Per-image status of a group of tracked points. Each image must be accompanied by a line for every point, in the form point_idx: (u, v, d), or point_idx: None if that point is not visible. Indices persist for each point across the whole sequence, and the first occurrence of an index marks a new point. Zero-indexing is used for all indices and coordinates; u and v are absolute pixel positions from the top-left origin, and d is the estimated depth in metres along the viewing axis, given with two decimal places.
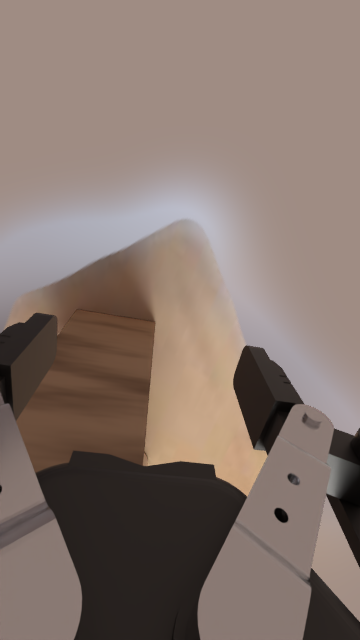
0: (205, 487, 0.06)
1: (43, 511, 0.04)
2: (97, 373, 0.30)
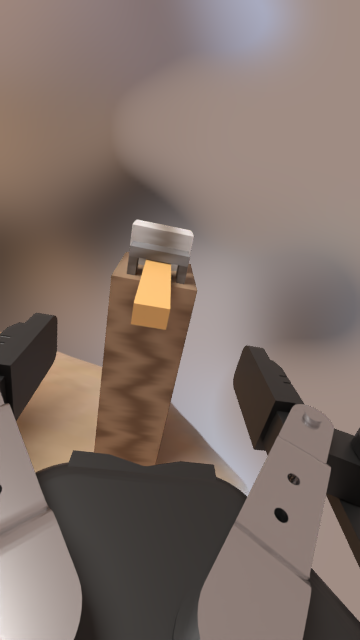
0: (205, 487, 0.06)
1: (43, 511, 0.04)
2: None
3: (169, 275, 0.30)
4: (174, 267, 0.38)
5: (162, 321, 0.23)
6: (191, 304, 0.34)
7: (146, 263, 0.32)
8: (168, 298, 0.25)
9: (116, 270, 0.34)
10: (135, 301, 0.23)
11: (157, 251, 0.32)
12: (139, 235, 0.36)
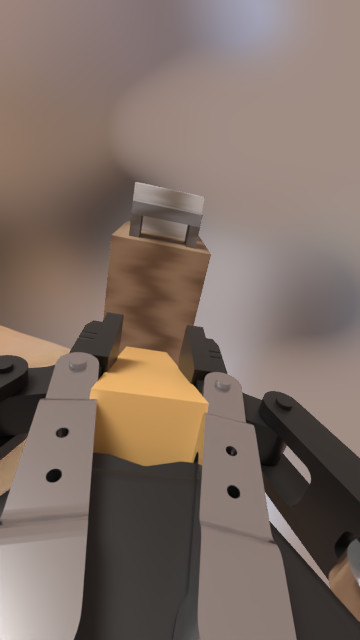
0: None
1: (82, 516, 0.04)
2: None
3: (172, 362, 0.15)
4: (182, 234, 0.34)
5: (184, 449, 0.07)
6: (203, 271, 0.29)
7: (125, 351, 0.17)
8: (189, 386, 0.09)
9: (117, 232, 0.29)
10: (97, 385, 0.07)
11: (164, 208, 0.28)
12: (143, 195, 0.32)
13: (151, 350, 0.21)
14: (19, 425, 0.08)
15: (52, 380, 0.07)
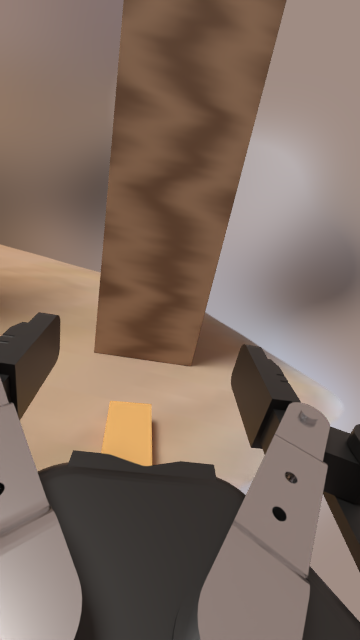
0: (205, 487, 0.06)
1: (45, 511, 0.04)
2: None
3: None
4: None
5: None
6: None
7: (106, 441, 0.17)
8: None
9: None
10: None
11: None
12: None
13: (135, 406, 0.20)
14: None
15: None
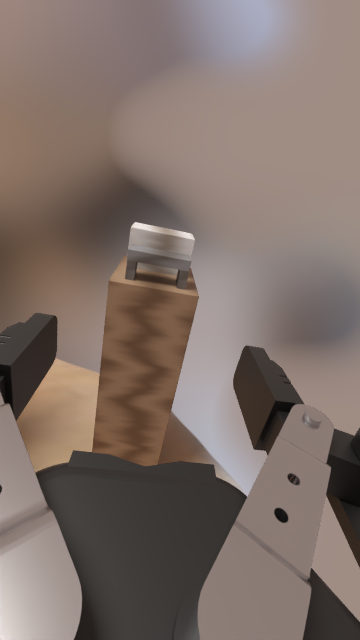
0: (205, 487, 0.06)
1: (43, 511, 0.04)
2: None
3: None
4: (174, 271, 0.37)
5: None
6: (192, 310, 0.32)
7: None
8: None
9: (114, 275, 0.32)
10: None
11: (157, 255, 0.31)
12: (138, 238, 0.35)
13: None
14: None
15: None
